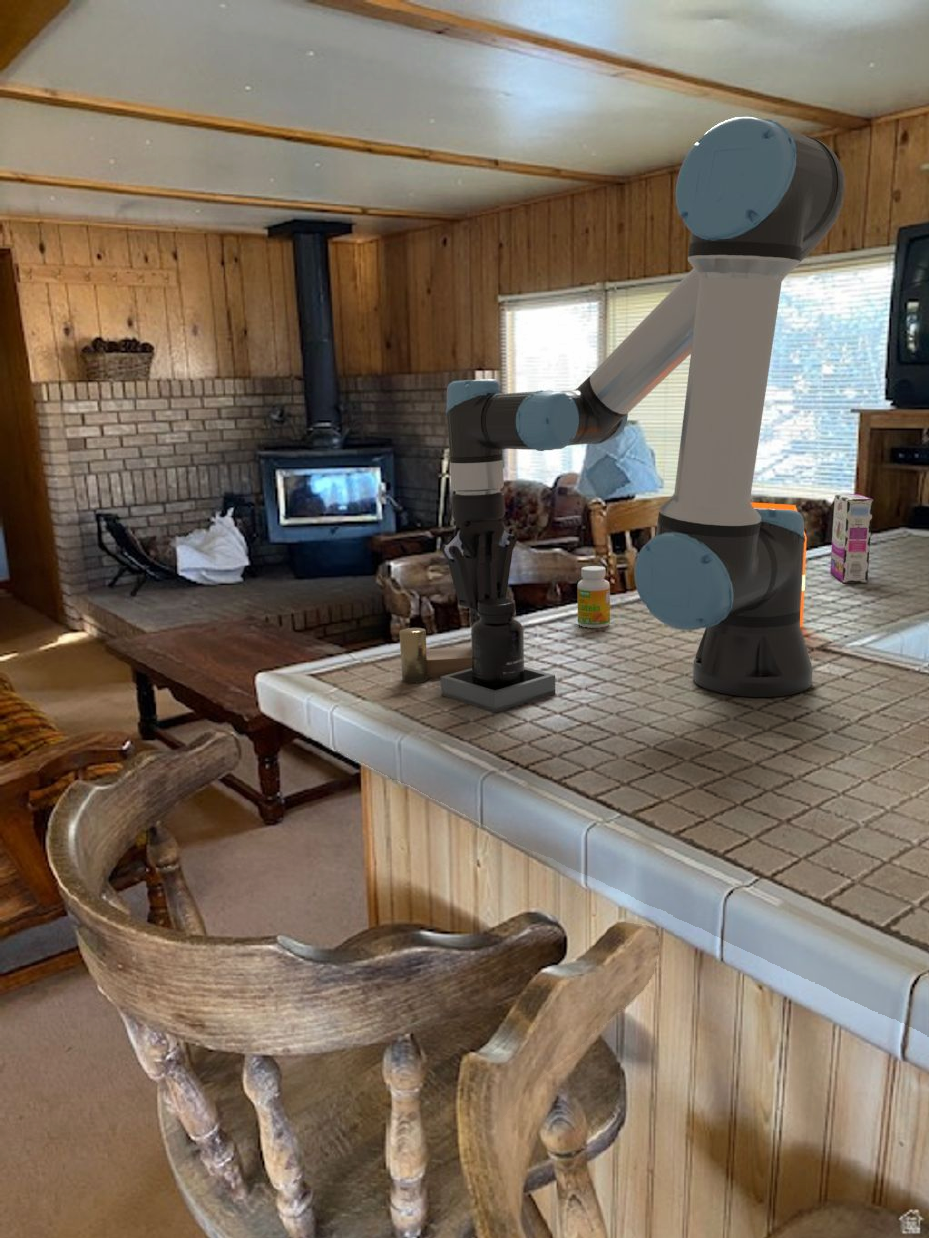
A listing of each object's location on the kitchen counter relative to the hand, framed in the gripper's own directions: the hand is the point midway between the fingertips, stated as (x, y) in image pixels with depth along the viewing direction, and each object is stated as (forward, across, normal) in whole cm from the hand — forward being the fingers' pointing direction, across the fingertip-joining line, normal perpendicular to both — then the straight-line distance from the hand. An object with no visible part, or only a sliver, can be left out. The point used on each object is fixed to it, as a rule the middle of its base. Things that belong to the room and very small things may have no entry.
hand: (485, 650), depth 140 cm
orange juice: (+2, -44, +19) cm, 48 cm away
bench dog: (+1, +13, 0) cm, 13 cm away
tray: (+1, +10, +14) cm, 17 cm away
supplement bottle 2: (+2, -27, -3) cm, 27 cm away
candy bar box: (+3, -89, +10) cm, 89 cm away
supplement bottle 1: (+1, +10, +14) cm, 17 cm away
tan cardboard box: (+1, +6, +1) cm, 6 cm away
